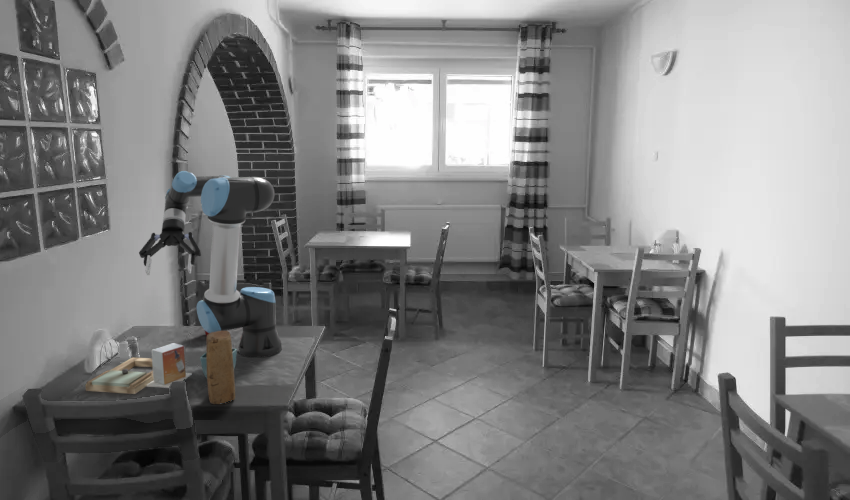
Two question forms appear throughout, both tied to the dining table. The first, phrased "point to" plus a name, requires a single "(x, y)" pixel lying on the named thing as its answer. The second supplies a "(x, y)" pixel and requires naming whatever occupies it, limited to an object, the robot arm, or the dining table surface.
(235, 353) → the flower pot
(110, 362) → the dining table surface
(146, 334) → the dining table surface
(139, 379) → the puzzle board
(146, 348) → the dining table surface
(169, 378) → the small box
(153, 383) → the white flat panel
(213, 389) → the block
